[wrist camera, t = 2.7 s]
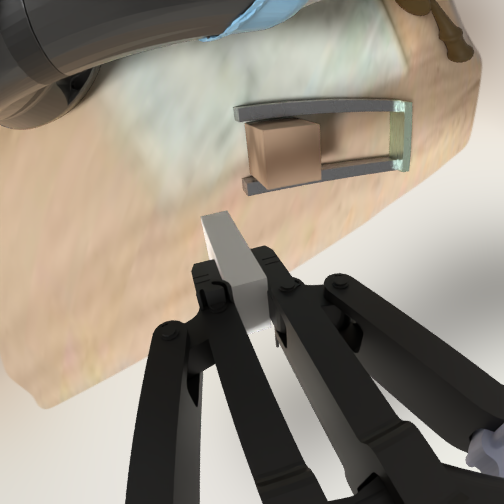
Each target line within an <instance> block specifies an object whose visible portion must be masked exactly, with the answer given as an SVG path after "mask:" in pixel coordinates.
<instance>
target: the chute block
mask: <svg viewBox="0 0 504 504" xmlns="http://www.w3.org/2000/svg"><path fill="white" fill-rule="evenodd" d="M245 131H246V140H247V149H248V158H249V167H250V174H251V175H252V176H254V177H255V178H256V179H257V180H258V181H259V182H260V183H261V184H262V185H263V186H264V187H265V188H266V189H267V190H270V189H275V188H280V187H285V186H291V185H296V184H301V183H307V182H312V181H318V180H321V143H320V124H317V123H314V122H310V121H306V120H303V119H299V118H295V117H293V118H283V119H274V120H266V121H258V122H251V123H245Z"/></svg>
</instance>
